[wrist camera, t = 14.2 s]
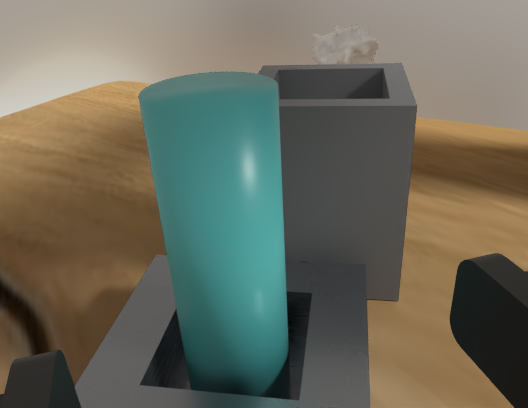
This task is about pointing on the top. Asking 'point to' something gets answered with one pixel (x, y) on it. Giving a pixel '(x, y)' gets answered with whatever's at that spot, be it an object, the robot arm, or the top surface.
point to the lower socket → (221, 404)
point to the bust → (345, 46)
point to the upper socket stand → (346, 166)
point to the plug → (223, 225)
